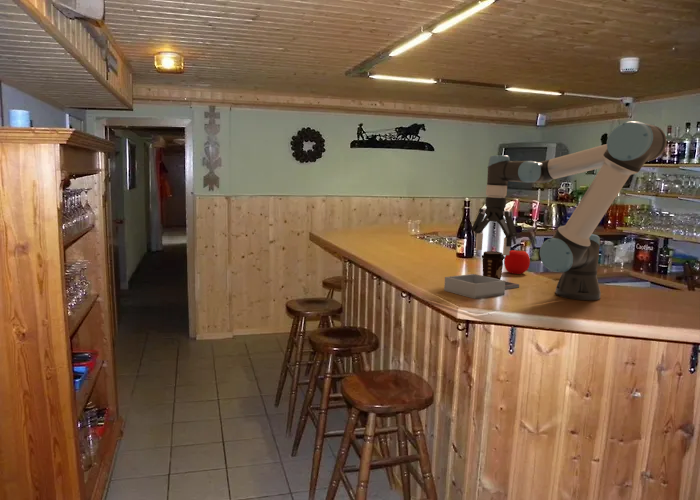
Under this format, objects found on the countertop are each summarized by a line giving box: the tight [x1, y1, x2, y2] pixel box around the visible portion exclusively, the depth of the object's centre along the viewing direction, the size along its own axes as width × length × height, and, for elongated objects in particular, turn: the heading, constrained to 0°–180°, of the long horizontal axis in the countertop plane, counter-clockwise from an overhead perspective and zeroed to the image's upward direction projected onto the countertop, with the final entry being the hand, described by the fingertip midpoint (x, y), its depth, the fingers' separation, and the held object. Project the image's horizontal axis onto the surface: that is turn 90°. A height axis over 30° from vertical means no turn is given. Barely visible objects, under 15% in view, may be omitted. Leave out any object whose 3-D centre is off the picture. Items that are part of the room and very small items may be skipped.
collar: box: [504, 280, 520, 290], centre depth 210 cm, size 15×15×1 cm
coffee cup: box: [481, 250, 506, 280], centre depth 209 cm, size 9×8×13 cm
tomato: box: [503, 248, 531, 275], centre depth 238 cm, size 10×11×11 cm
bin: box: [443, 273, 506, 300], centre depth 196 cm, size 15×15×5 cm
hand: (491, 252), depth 208 cm, fingers open, 13 cm apart
